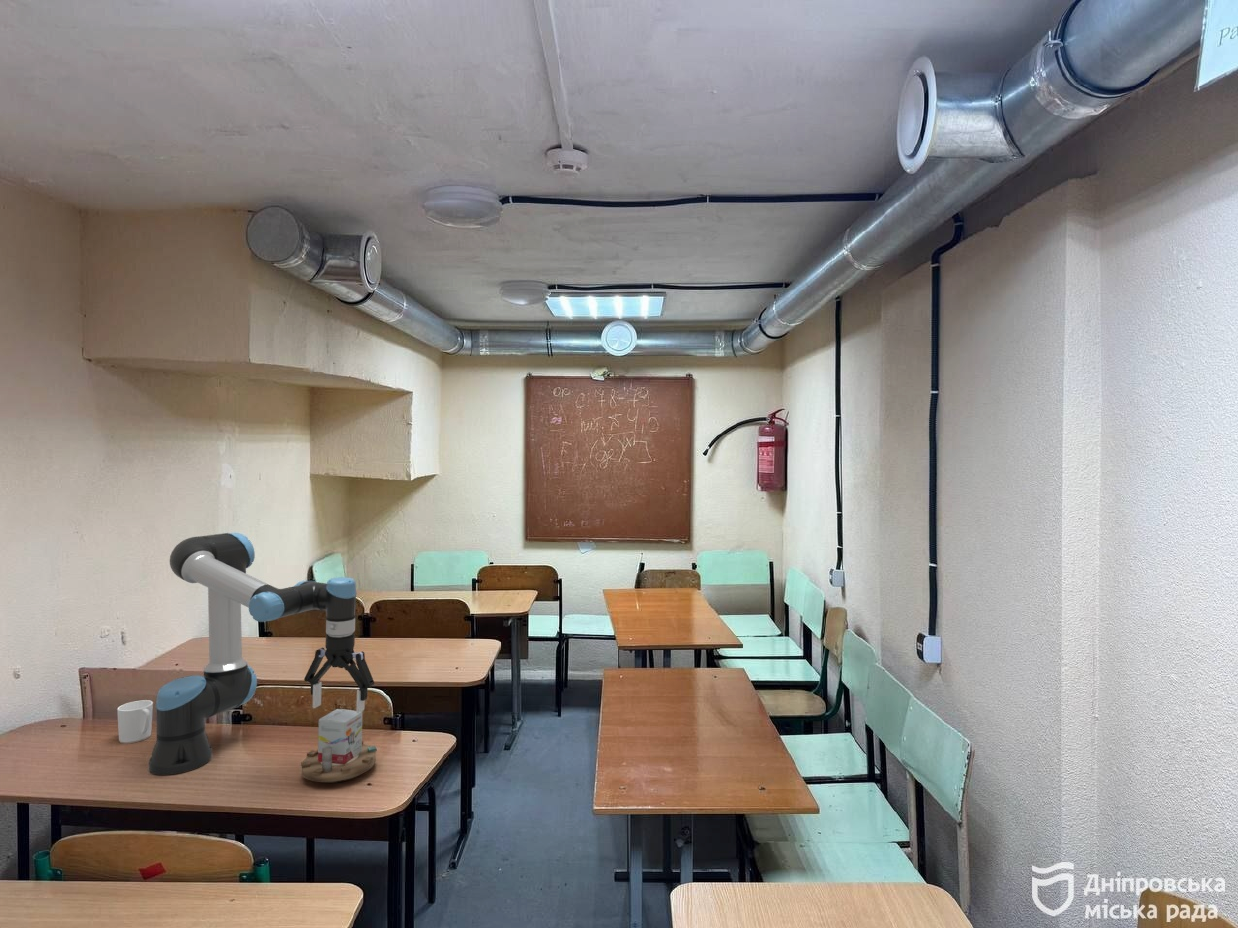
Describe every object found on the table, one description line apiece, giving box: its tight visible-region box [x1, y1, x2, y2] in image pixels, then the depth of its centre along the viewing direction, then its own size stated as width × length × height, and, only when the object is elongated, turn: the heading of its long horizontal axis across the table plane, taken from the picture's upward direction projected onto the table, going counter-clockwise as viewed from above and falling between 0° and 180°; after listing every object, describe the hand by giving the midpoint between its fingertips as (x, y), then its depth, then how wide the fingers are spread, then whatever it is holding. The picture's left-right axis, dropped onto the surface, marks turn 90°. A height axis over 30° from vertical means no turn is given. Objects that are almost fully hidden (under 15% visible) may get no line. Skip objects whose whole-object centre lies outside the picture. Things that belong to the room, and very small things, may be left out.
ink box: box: [317, 708, 363, 764], centre depth 181 cm, size 9×9×12 cm
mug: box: [116, 699, 154, 745], centre depth 201 cm, size 11×9×10 cm
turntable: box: [300, 740, 377, 783], centre depth 181 cm, size 19×19×8 cm
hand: (338, 708), depth 181 cm, fingers open, 13 cm apart
